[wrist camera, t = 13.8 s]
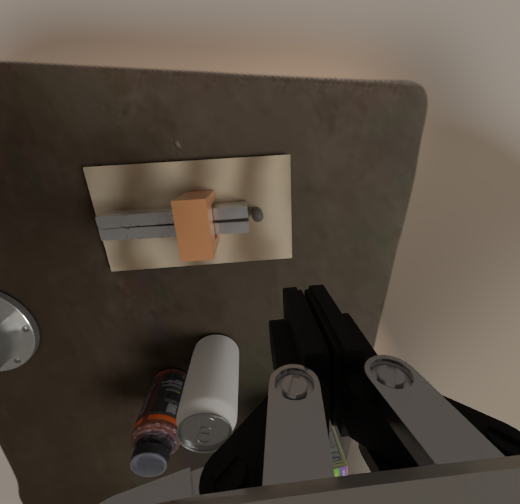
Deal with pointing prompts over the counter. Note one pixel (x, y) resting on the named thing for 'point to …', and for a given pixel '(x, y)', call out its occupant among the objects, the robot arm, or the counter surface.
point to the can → (209, 395)
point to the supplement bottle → (157, 424)
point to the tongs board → (226, 190)
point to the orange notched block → (195, 225)
